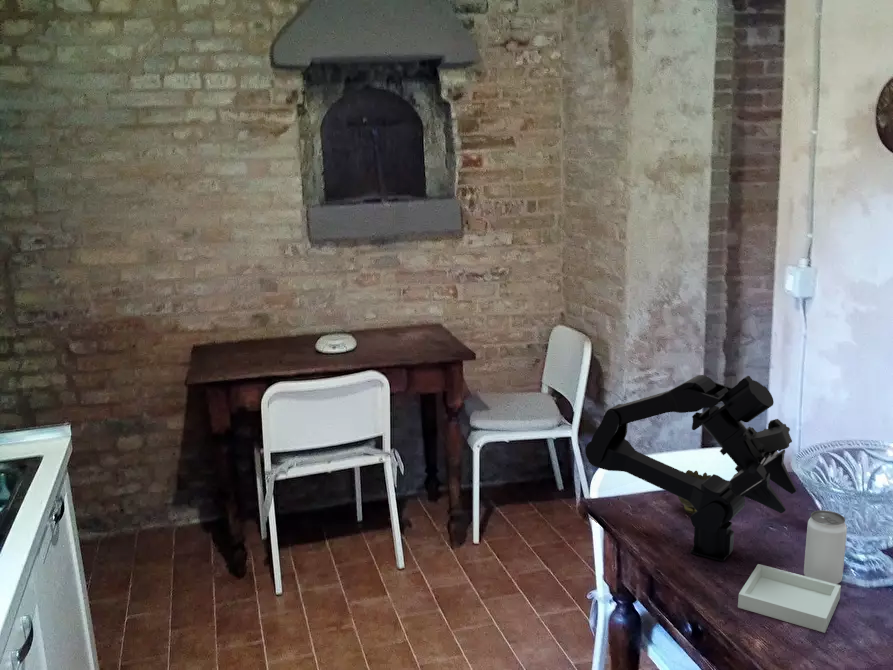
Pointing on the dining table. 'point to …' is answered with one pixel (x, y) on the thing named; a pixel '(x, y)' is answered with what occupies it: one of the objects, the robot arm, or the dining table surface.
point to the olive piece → (687, 504)
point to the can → (825, 546)
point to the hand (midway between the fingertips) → (789, 501)
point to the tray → (790, 597)
